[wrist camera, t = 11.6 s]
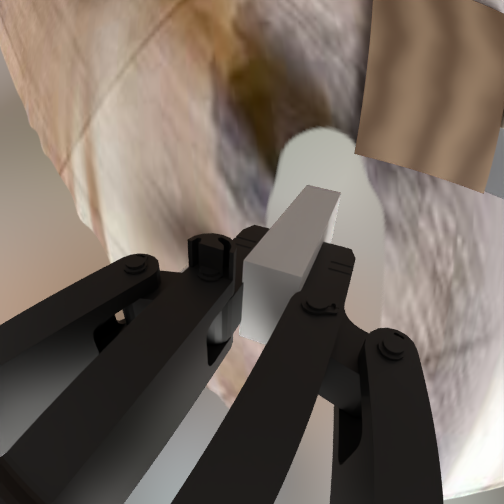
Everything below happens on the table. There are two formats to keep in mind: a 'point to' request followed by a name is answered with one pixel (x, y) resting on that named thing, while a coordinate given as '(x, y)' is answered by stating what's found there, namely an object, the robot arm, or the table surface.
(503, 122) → the cream rectangular block
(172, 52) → the table surface
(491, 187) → the place mat
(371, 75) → the serving board
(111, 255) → the table surface
